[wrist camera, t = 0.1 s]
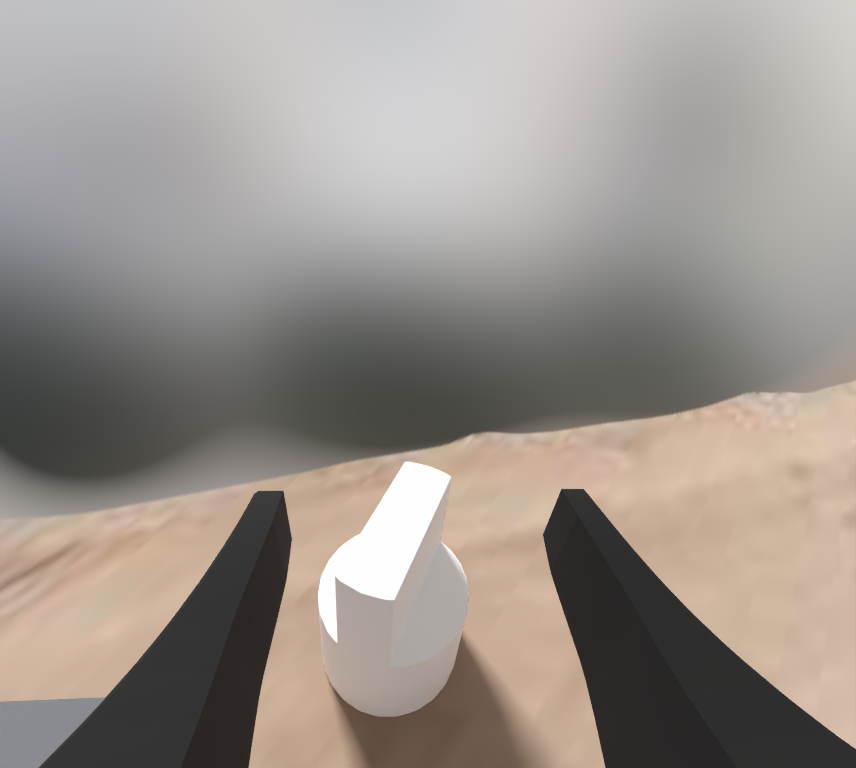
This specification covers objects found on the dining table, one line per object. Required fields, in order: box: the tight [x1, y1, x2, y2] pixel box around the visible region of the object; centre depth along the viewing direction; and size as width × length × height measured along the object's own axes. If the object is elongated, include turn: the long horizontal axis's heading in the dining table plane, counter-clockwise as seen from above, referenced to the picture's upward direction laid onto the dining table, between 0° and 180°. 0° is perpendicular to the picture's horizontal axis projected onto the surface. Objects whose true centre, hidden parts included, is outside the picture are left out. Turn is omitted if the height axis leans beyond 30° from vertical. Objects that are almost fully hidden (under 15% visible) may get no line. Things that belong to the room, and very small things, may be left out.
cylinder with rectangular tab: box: [318, 462, 469, 717], centre depth 27 cm, size 9×9×12 cm
